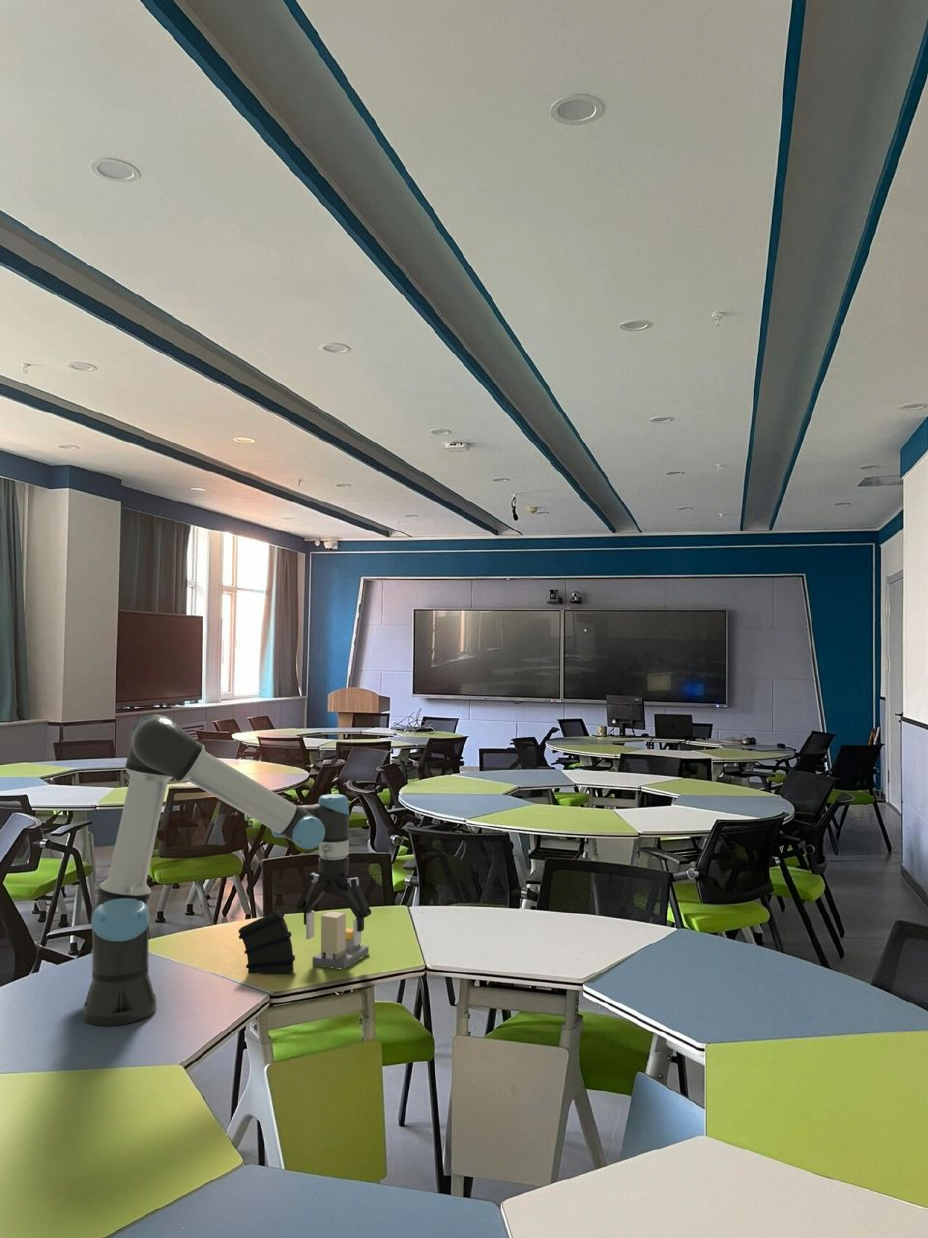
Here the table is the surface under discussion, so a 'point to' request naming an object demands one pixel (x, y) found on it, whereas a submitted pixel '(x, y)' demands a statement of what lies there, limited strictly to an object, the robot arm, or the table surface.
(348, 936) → the button
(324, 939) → the block
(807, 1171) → the table surface
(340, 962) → the rail cradle
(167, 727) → the robot arm
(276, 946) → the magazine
